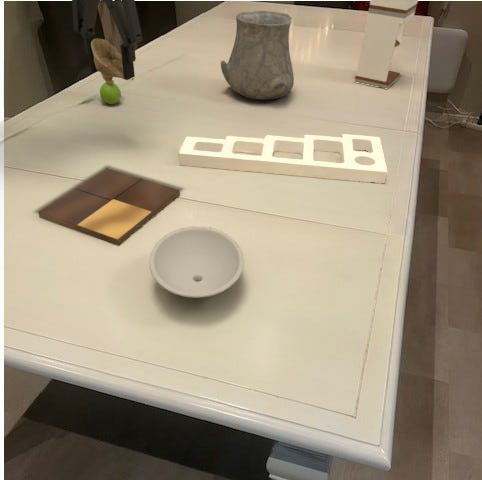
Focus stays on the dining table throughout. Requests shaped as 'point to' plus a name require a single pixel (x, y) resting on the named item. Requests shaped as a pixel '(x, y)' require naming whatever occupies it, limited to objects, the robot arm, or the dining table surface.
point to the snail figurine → (109, 91)
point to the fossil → (107, 58)
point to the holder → (350, 168)
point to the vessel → (260, 56)
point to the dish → (196, 261)
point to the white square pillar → (382, 40)
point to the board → (110, 205)
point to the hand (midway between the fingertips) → (112, 74)
